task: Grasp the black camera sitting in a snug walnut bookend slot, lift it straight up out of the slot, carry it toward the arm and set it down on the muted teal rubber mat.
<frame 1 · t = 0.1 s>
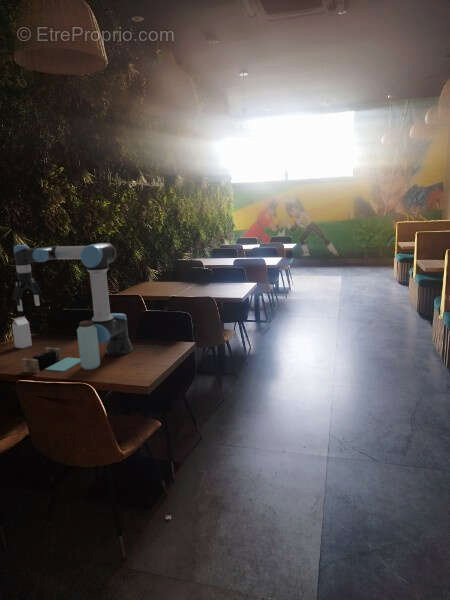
hand: (29, 308, 242), 28 cm above the table, fingers open, 13 cm apart
milk carton: (23, 346, 263), on the table
slot block: (43, 365, 227), on the table
water bottle: (90, 367, 223), on the table
camera: (44, 366, 227), on the table
mat: (65, 364, 227), on the table
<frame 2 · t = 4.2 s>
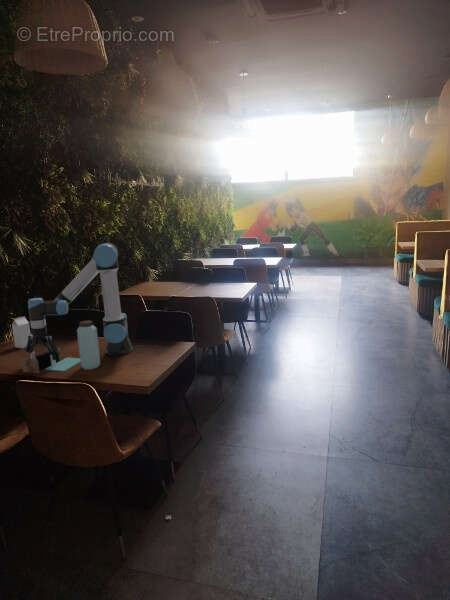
hand: (43, 364, 226), 1 cm above the table, fingers open, 12 cm apart
camera: (46, 365, 227), on the table
everything else where it was.
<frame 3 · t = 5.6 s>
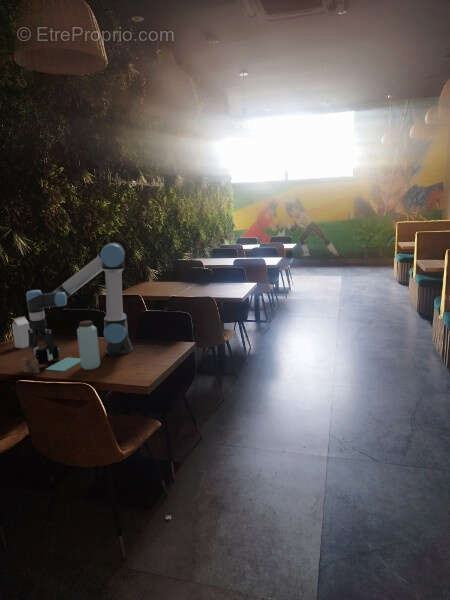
hand: (44, 359, 226), 4 cm above the table, fingers closed on camera, 8 cm apart
camera: (46, 360, 227), point 3 cm above the table, touching gripper
everything else where it was.
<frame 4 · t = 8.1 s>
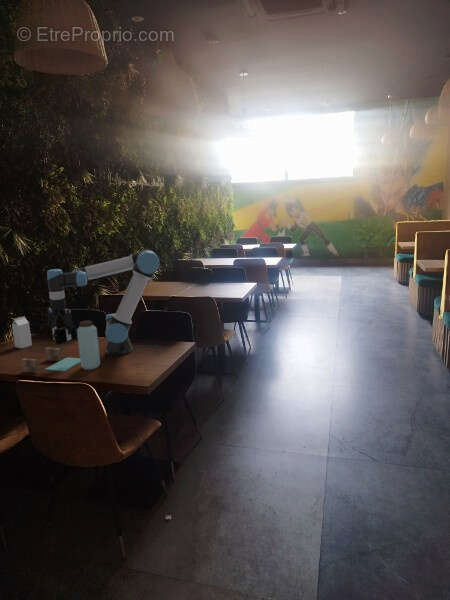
hand: (62, 339, 224), 14 cm above the table, fingers closed on camera, 8 cm apart
camera: (64, 341, 226), point 13 cm above the table, touching gripper
everything else where it was.
when the fingers open (1 cm above the table, at t = 10.7 s): camera stays where it is, resting on mat.
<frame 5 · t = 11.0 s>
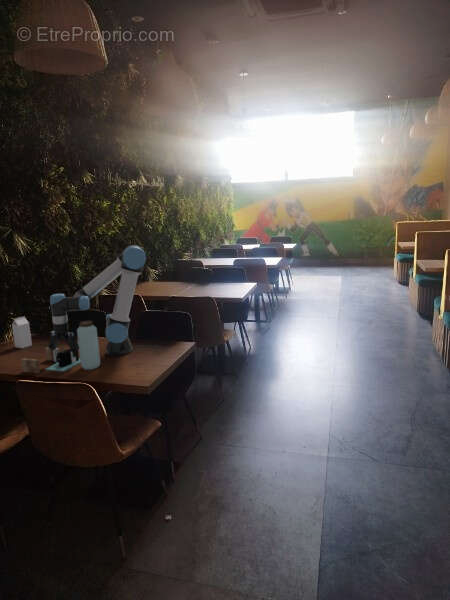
hand: (65, 361, 227), 2 cm above the table, fingers open, 10 cm apart
camera: (67, 363, 228), resting on mat
everything else where it was.
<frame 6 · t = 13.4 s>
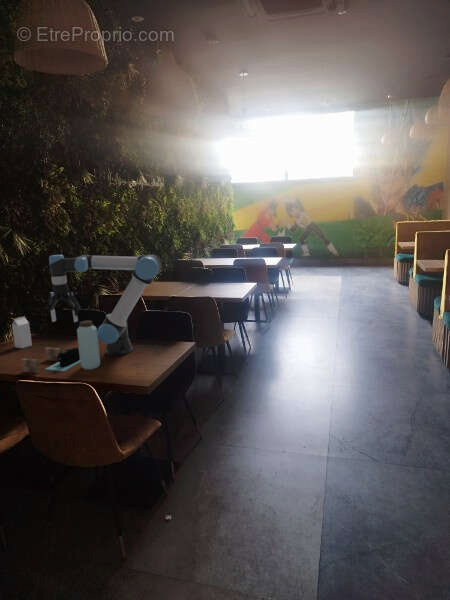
hand: (65, 321, 229), 23 cm above the table, fingers open, 13 cm apart
nothing on the table moved.
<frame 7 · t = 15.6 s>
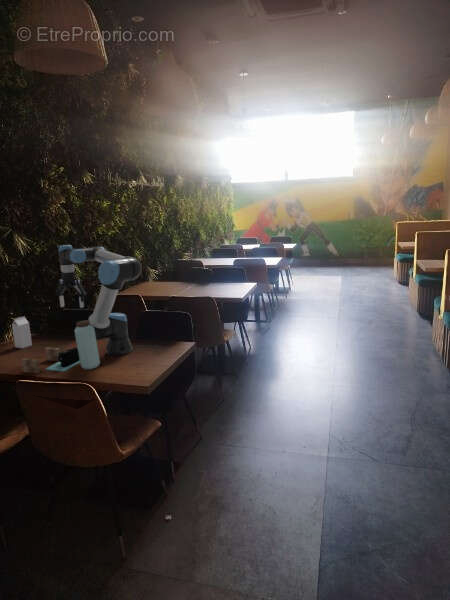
hand: (72, 307, 247), 27 cm above the table, fingers open, 13 cm apart
water bottle: (90, 366, 223), on the table, touching arm
at the end: camera inside the target area on the mat (1.9 cm from its centre), point 0.4 cm above the mat's base; camera moved 13.2 cm from its start; the gripper is holding nothing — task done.
